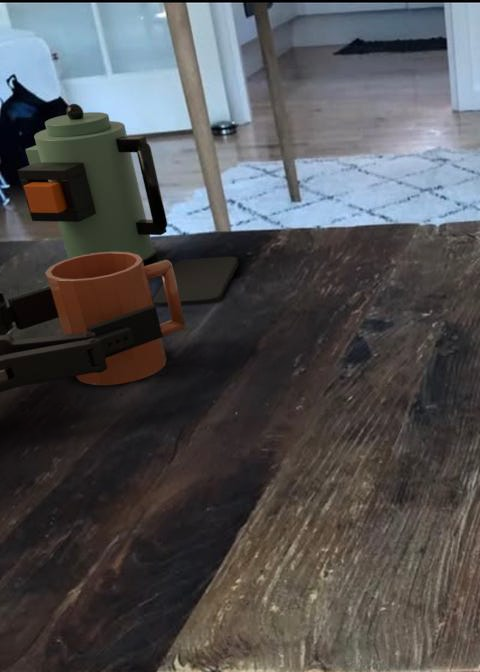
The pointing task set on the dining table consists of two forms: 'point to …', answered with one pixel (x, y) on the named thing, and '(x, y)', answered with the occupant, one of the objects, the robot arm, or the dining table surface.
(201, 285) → the phone
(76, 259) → the mug
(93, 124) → the kettle
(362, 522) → the dining table surface
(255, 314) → the dining table surface
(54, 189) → the switch
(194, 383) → the dining table surface
